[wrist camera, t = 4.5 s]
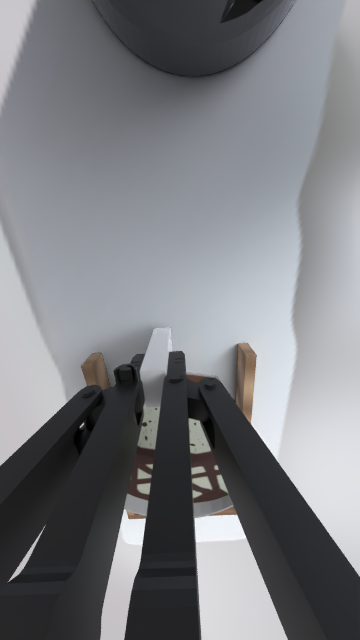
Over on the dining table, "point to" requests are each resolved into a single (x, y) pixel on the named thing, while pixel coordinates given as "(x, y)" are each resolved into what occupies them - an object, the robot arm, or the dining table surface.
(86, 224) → the dining table surface
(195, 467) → the food container
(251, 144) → the dining table surface
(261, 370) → the dining table surface
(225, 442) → the robot arm
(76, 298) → the dining table surface
